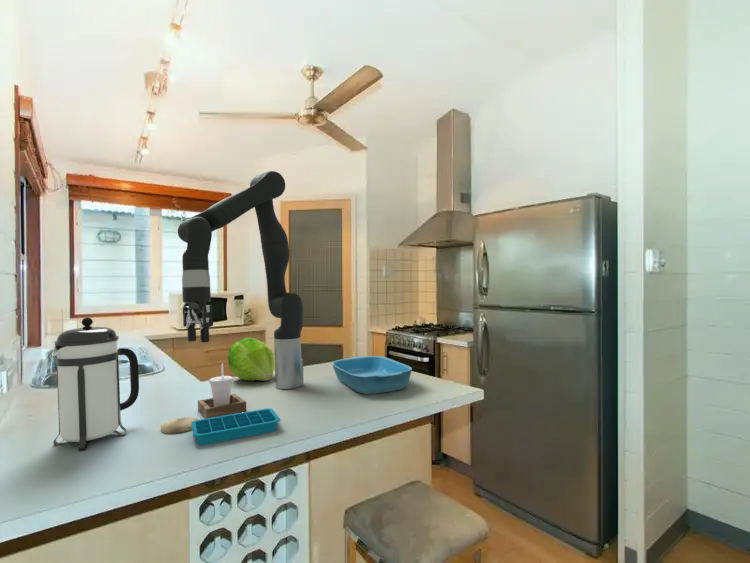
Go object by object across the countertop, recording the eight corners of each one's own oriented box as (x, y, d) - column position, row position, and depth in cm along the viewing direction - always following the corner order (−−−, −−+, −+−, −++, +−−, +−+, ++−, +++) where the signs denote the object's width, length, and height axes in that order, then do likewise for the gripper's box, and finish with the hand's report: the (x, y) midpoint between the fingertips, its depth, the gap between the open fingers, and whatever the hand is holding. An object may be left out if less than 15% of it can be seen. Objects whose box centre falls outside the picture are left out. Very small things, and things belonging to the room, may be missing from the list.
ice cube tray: (191, 432, 104) (191, 421, 104) (271, 418, 113) (271, 407, 113) (193, 449, 93) (193, 436, 93) (281, 432, 102) (281, 420, 102)
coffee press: (121, 446, 95) (116, 318, 95) (39, 456, 91) (34, 322, 91) (140, 421, 112) (137, 312, 112) (72, 429, 108) (68, 315, 107)
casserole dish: (325, 376, 159) (325, 358, 159) (378, 370, 168) (377, 352, 167) (360, 402, 125) (359, 378, 125) (423, 392, 134) (423, 370, 134)
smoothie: (225, 415, 115) (224, 366, 115) (205, 414, 116) (203, 365, 116) (237, 408, 121) (236, 361, 121) (218, 407, 123) (216, 361, 123)
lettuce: (242, 392, 144) (269, 356, 145) (209, 359, 152) (234, 325, 154) (268, 395, 159) (292, 362, 161) (237, 365, 168) (260, 334, 169)
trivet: (198, 418, 113) (198, 415, 113) (199, 429, 105) (199, 425, 105) (161, 424, 109) (161, 421, 109) (160, 436, 101) (160, 432, 101)
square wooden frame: (198, 410, 120) (197, 400, 120) (235, 403, 126) (234, 393, 126) (207, 420, 111) (206, 409, 111) (246, 412, 118) (246, 401, 118)
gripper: (220, 284, 117) (222, 341, 117) (198, 287, 127) (200, 339, 126) (194, 284, 112) (196, 344, 111) (173, 287, 121) (175, 342, 121)
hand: (198, 341), depth 119 cm, fingers open, 8 cm apart
